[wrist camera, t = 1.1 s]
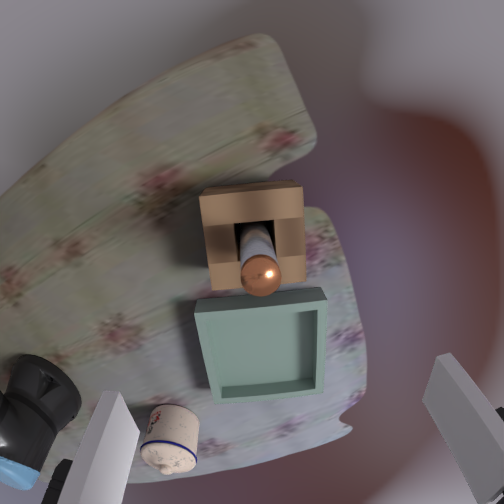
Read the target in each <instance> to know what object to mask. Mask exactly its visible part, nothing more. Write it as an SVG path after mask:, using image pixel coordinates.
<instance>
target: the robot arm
mask: <svg viewBox="0 0 504 504" xmlns="http://www.w3.org/2000/svg"><path fill="white" fill-rule="evenodd" d="M422 401H423V403H424V404H425V406H426V408H427V410H428V411H429V413H430V415H431V417H432V418H433V420H434V422H435V424H436V425H437V427H438V429H439V431H440V432H441V434H442V436H443V438H444V440H445V441H446V443H447V445H448V447H449V449H450V451H451V452H452V454H453V456H454V458H455V460H456V462H457V464H458V465H459V467H460V469H461V471H462V473H463V475H464V477H465V479H466V481H467V483H468V485H469V487H470V489H471V491H472V493H473V495H474V497H475V499H476V501H477V503H478V504H488V503H490V502H492V501H494V500H495V499H496V498H497V497H498V496H499V495H500V494H501V493H503V495H504V408H502V407H500V408H498V409H496V410H495V409H494V408H493V407H492V405H491V404H490V403H489V401H488V400H487V399H486V397H485V396H484V395H483V393H482V392H481V391H480V389H479V388H478V387H477V386H476V384H475V383H474V382H473V380H472V379H471V378H470V377H469V375H468V374H467V373H466V371H465V370H464V369H463V368H462V367H461V365H460V364H459V363H458V362H457V360H456V359H455V358H454V357H453V356H452V354H451V353H447V354H444V355H441V356H437V357H436V360H435V363H434V367H433V370H432V373H431V376H430V379H429V382H428V385H427V388H426V391H425V394H424V397H423V400H422ZM81 404H82V402H81V397H80V394H79V392H78V390H77V388H76V386H75V385H74V384H73V382H72V381H71V380H70V379H69V378H68V376H67V375H66V374H64V373H63V372H62V371H61V370H60V369H59V368H57V367H56V366H55V365H53V364H52V363H50V362H48V361H47V360H45V359H43V358H40V357H37V356H33V355H25V356H22V357H20V358H19V359H18V361H17V362H16V363H15V364H14V366H13V368H12V371H11V376H10V379H9V383H8V386H7V390H6V392H5V394H4V395H3V393H2V392H1V391H0V481H1V482H3V483H5V484H7V485H9V486H11V487H14V488H16V489H20V490H29V489H31V488H32V486H33V485H34V483H35V481H36V479H37V478H38V476H39V475H40V471H41V469H42V467H43V464H44V462H45V460H46V457H47V455H48V453H49V451H50V448H51V446H52V444H53V442H54V440H55V438H56V435H57V434H58V432H59V431H60V430H61V429H63V428H64V427H65V426H66V425H67V424H68V423H69V422H70V421H72V420H73V419H74V418H75V417H76V416H77V414H78V412H79V410H80V408H81ZM139 434H140V431H139V430H138V428H137V426H136V424H135V422H134V420H133V418H132V416H131V414H130V412H129V410H128V408H127V406H126V404H125V402H124V400H123V397H122V395H121V393H120V391H106V390H104V391H103V393H102V395H101V397H100V400H99V402H98V404H97V406H96V408H95V411H94V413H93V415H92V417H91V420H90V422H89V424H88V427H87V429H86V431H85V434H84V436H83V438H82V441H81V443H80V446H79V448H78V451H77V453H76V455H75V458H74V460H73V461H72V460H68V459H63V460H62V461H61V462H60V463H59V464H58V466H57V467H56V468H55V470H54V473H53V475H52V480H50V483H49V485H48V488H47V490H46V493H45V495H44V498H43V501H42V503H41V504H121V503H122V499H123V494H124V490H125V486H126V483H127V479H128V475H129V471H130V467H131V463H132V460H133V456H134V452H135V449H136V445H137V441H138V438H139ZM496 504H504V497H502V498H501V499H500V500H499V501H498V502H497V503H496Z"/></svg>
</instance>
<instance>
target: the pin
mask: <svg viewBox="0 0 504 504" xmlns="http://www.w3.org/2000/svg"><path fill="white" fill-rule="evenodd" d="M240 268H241V284H242V286H243V288H244V289H245V290H246V291H247V292H248V293H249V294H251V295H254V296H259V297H262V296H267V295H270V294H272V293H273V292H275V291H276V290H277V289H278V287H279V286H280V283H281V279H282V276H281V271H280V268H279V265H278V261H277V258H276V255H275V252H274V248H273V245H272V242H271V239H270V235H269V232H268V229H267V226H266V222H265V220H264V221H253V222H243V223H240Z"/></svg>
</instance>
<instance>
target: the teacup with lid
mask: <svg viewBox="0 0 504 504" xmlns="http://www.w3.org/2000/svg"><path fill="white" fill-rule="evenodd" d="M198 432H199V420H198V418H197V417H196V415H195V414H194V413H193V412H191V411H190V410H188V409H186V408H184V407H181V406H177V405H161V406H158V407H156V408H155V409H154V410H153V411H152V412H151V415H150V419H149V423H148V427H147V430H146V434H145V438H144V442H143V445H142V446H141V448H140V453H141V456H142V458H143V460H144V461H145V462H146V463H147V464H149V465H150V466H152V467H154V468H156V469H158V470H160V472H161V473H163V474H166V475H170V474H171V473H182V472H187V471H189V470H191V469H192V468H194V466H195V465H196V463H197V457H196V450H197V441H198Z"/></svg>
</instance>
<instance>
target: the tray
mask: <svg viewBox="0 0 504 504" xmlns="http://www.w3.org/2000/svg"><path fill="white" fill-rule="evenodd" d="M194 316H195V321H196V326H197V330H198V335H199V340H200V344H201V349H202V353H203V358H204V362H205V367H206V371H207V375H208V379H209V384H210V388H211V392H212V396H213V400H214V404H227V403H242V402H255V401H266V400H275V399H284V398H292V397H300V396H307V395H314V394H321V393H323V388H324V373H325V355H326V331H327V298H326V296H325V294H324V292H323V291H322V289H321V287H318V288H309V289H301V290H291V291H282V292H273V293H272V294H270V295H267V296H262V297H259V296H254V295H242V296H231V297H220V298H208V299H197V303H196V307H195V311H194Z"/></svg>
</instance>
